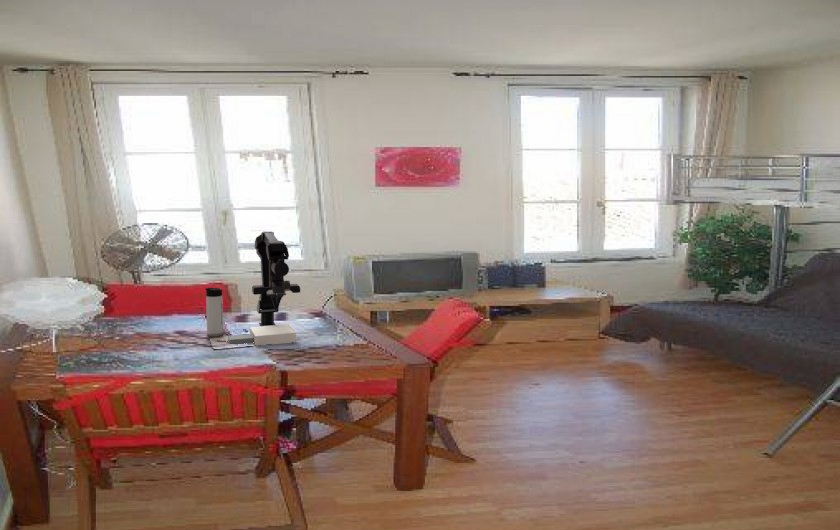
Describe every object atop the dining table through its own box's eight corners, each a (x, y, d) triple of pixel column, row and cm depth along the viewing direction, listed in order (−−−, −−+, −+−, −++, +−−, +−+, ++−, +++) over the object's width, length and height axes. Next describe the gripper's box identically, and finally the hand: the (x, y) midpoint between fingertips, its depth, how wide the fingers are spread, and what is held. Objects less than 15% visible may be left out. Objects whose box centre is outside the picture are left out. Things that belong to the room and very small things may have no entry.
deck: (249, 336, 218) (249, 327, 217) (288, 333, 225) (288, 324, 225) (255, 346, 206) (255, 336, 205) (296, 342, 213) (296, 332, 212)
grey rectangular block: (229, 344, 205) (229, 339, 204) (227, 340, 210) (227, 335, 210) (253, 342, 208) (253, 337, 208) (251, 338, 214) (251, 333, 214)
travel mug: (203, 334, 218) (202, 287, 216) (218, 331, 223) (217, 285, 220) (210, 337, 214) (209, 289, 211) (225, 334, 219) (225, 287, 216)
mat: (209, 339, 212) (209, 338, 211) (248, 336, 218) (248, 335, 218) (213, 350, 198) (213, 349, 198) (254, 346, 205) (254, 345, 205)
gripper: (255, 276, 204) (255, 315, 207) (303, 275, 212) (302, 312, 214) (251, 271, 214) (251, 309, 217) (297, 270, 222) (297, 306, 224)
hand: (276, 309), depth 218 cm, fingers closed
